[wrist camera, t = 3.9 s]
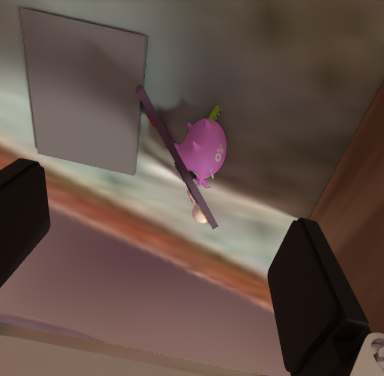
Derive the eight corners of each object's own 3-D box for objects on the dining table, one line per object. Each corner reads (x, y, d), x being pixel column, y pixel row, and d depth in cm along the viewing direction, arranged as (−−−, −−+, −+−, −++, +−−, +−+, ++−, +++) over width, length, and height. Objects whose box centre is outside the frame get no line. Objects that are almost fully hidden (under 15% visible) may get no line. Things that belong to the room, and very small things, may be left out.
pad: (148, 36, 17) (145, 36, 16) (135, 172, 22) (133, 175, 22) (25, 8, 17) (19, 7, 16) (42, 150, 22) (37, 153, 22)
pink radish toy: (121, 97, 12) (203, 236, 16) (218, 43, 12) (278, 195, 16) (127, 92, 19) (185, 193, 22) (192, 55, 18) (240, 163, 22)
